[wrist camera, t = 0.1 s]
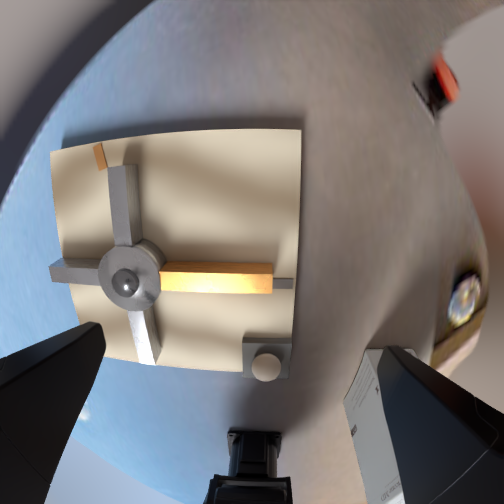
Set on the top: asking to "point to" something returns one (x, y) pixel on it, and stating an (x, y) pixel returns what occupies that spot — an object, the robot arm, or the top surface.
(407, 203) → the top surface
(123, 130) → the top surface
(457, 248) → the top surface
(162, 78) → the top surface
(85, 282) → the capstan
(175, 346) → the board with rotating cross
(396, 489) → the skincare box
